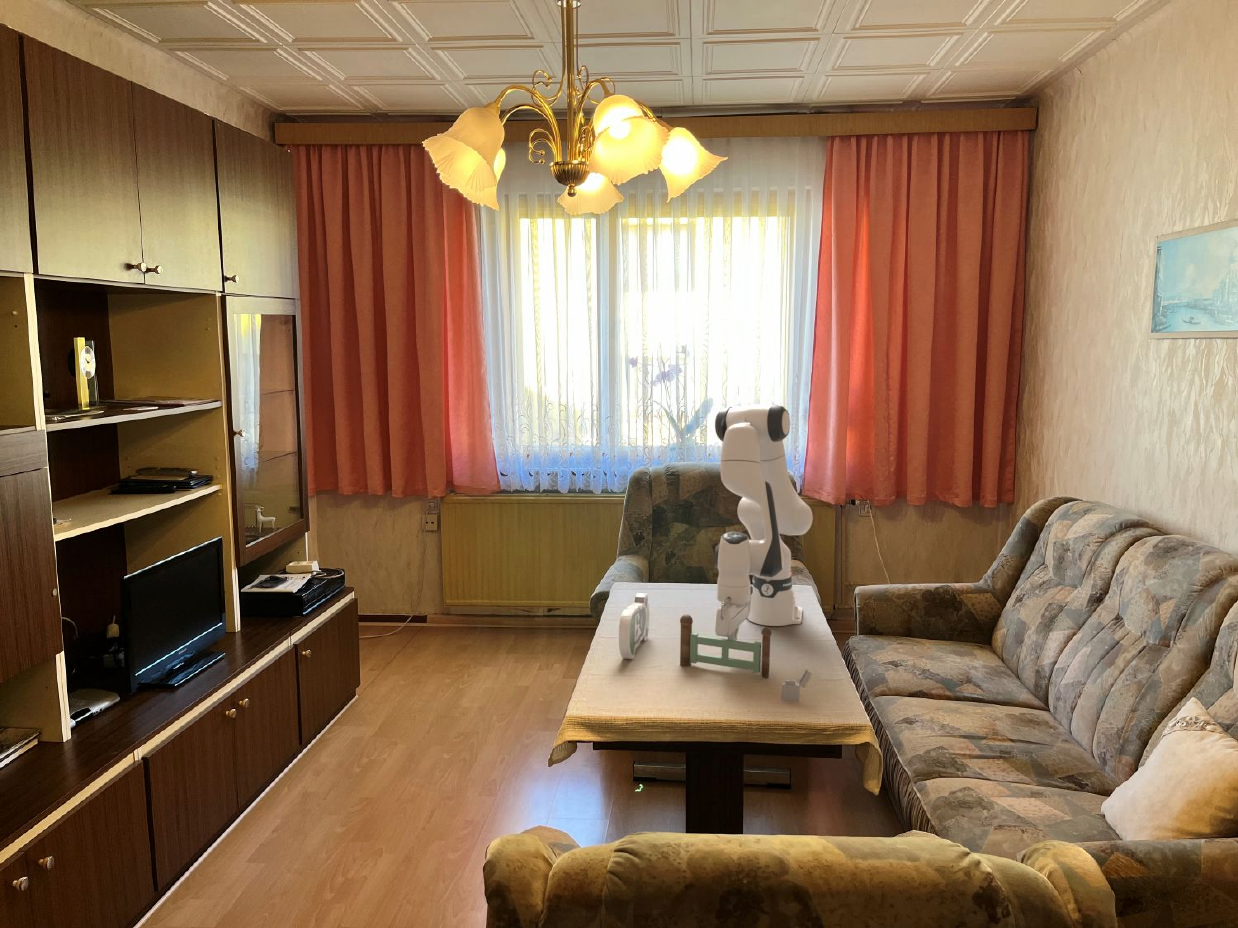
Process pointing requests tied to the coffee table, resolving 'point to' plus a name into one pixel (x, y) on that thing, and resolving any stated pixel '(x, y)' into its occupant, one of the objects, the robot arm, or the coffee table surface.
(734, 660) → the gate
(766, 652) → the gate posts
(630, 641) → the cutout
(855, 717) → the coffee table surface
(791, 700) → the lighter
